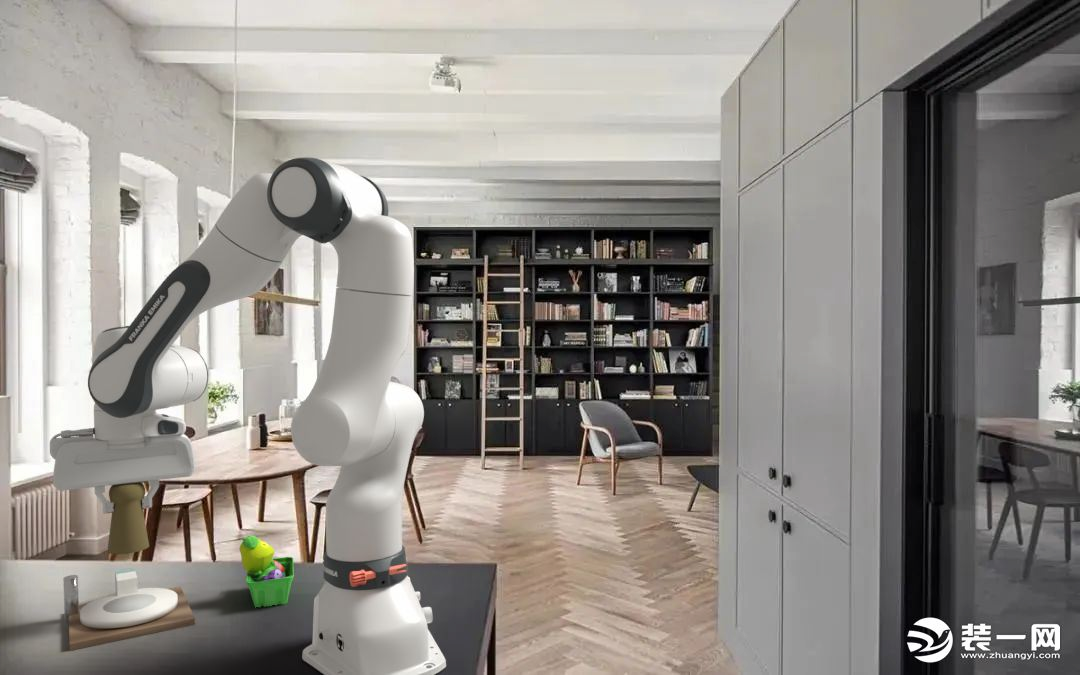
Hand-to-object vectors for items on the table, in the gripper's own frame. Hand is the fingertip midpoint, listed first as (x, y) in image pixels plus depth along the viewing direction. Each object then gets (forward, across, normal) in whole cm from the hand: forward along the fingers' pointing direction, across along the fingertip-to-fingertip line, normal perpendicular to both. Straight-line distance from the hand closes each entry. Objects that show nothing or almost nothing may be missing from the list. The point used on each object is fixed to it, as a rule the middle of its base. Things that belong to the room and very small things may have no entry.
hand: (127, 510), depth 122 cm
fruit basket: (+18, +21, -3) cm, 28 cm away
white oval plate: (+17, 0, +2) cm, 17 cm away
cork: (+6, 0, 0) cm, 7 cm away
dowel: (+18, -8, +5) cm, 20 cm away
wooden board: (+18, 0, 0) cm, 18 cm away
